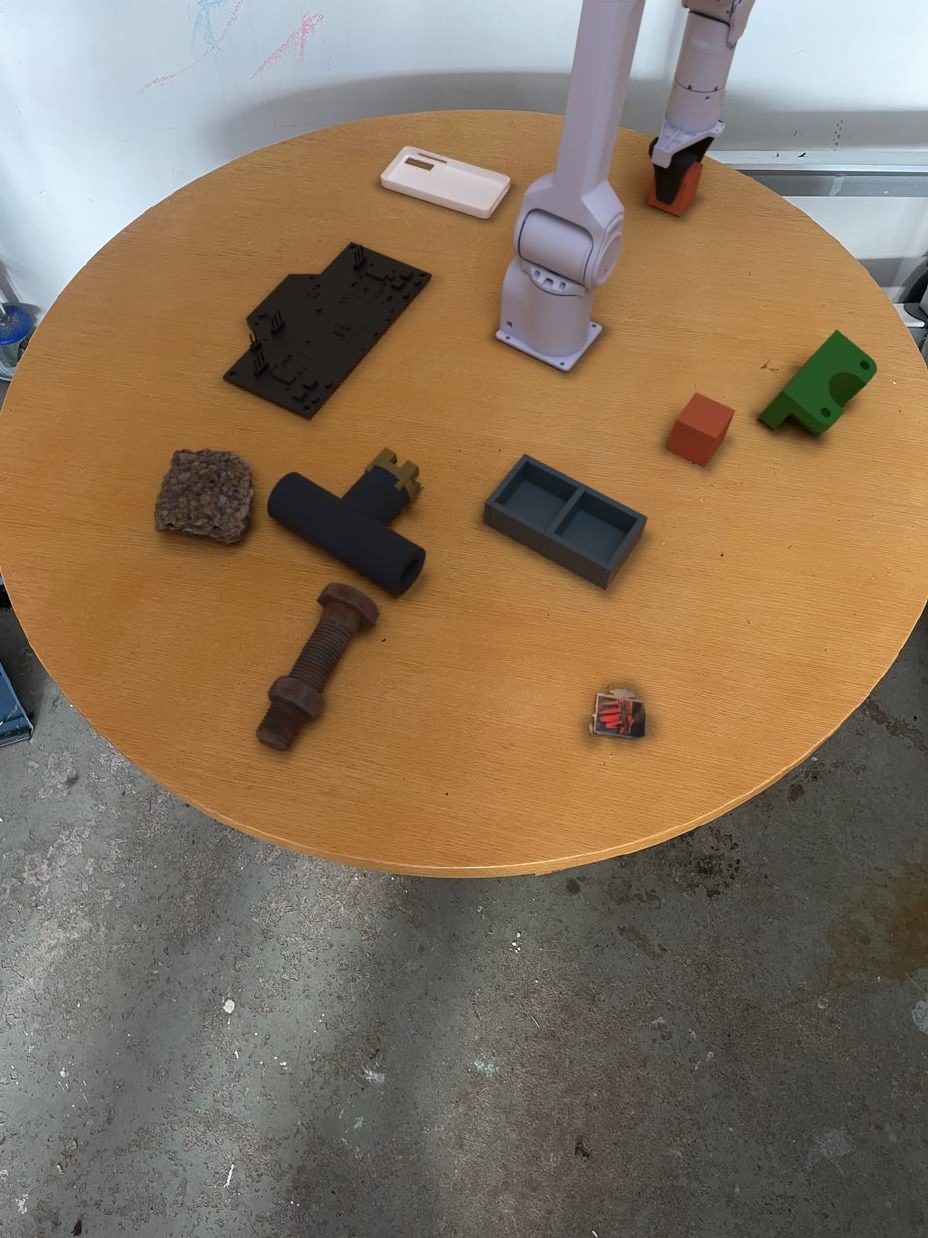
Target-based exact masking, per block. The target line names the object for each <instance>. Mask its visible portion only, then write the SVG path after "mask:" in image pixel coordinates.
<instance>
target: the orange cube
mask: <svg viewBox="0 0 928 1238" xmlns="http://www.w3.org/2000/svg"><path fill="white" fill-rule="evenodd" d="M703 169H704V163H702V162H701V163H699V162H696V161H695V162H694V163H693V164H692V165H691V167H690V168H689V170H688V172H687V173H686V175H685V177H684V179H683V182H682V184H681V187H680V189H679V192H678V194H677V196H676V198H675V200H674V202H673V203H672V204H671V205H668V204H665V203H663V202H661V201H658V200H656V188H655V173H654V172H653V176H652V181H651V186H650V192H649V195H648V200H647V204H648V205H650V206H653V207H655V208H658V209H660V210H662V211H664V212H667V213H670V214H672V215H675V216H677V217H680V216H681V214H682V213H683V212H684V211H685V210H686V209H687V207H688V206H689V205H690V204H691V203H692V201H693V200H695V198H696V194H697V192H698V186H699V183H700V179H701V176H702V173H703V172H702V171H703Z"/></svg>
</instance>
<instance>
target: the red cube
mask: <svg viewBox="0 0 928 1238" xmlns="http://www.w3.org/2000/svg"><path fill="white" fill-rule="evenodd" d="M735 412H736V410H735V409H733V408H731V407H729V406H727V405H725V404H723V403H721V402H718V401H717V400H714V399H712V398H710V397H708V396H706V395H703V394H701V393H699V392H697V391H695V392H694V394H693V395H692V396H691V398H690V399H689V401H688V402H687V404H686V405H685V406H684V407H683V409H682V411H681V412H680V414H679V415H678V416H677V418H676V419H675V422H674V425H673V428H672V431H671V434H670V437H669V440H668V444H667V447H666V450H668V451H671V452H672V453H675V454H677V455H678V456H680V457H683V458H685V459H686V460H689V461H691V462H693V463H694V464H697V465H699V466H701V467H703V468H706V467H707V465H708V464H709V462H710V461H711V460H712V458H713V456H714V455H715V454H716V452H717V450H718V449H719V447H720V446H721V444H722V443H723V441H724V440H725V437H726V435H727V433H728V430H729V428H730V425H731V423H732V420H733V417H734V416H735Z"/></svg>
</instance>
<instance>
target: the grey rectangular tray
mask: <svg viewBox="0 0 928 1238" xmlns="http://www.w3.org/2000/svg"><path fill="white" fill-rule="evenodd" d="M483 508H484V510H483V524H484V525H486V526H487V527H490V528H492V529H494V530H496V531H498V532H499V533H501V534H503V535H505V536H506V537H508V538H509V539H512V540H514V541H516V542H517V543H519V544H521V545H523V546H525V547H527V548H528V549H530V550H531V551H534V552H535V553H537V554H539V555H541V556H543V557H545V558H546V559H548V560H550V561H551V562H554V563H556V565H557V564H558V565H559V566H561V567H563V568H565V569H566V570H568V571H570V572H572V573H574V574H576V575H577V576H579V577H581V578H582V579H584V580H586V581H588V582H589V583H592V584H594V585H595V586H597V587H599V588H600V589H603V590H604V591H605V590H607V589H608V587H609V586H610V584H611V582H612V581H613V580H614V578H615V577H616V575H617V574H618V572H619V571H620V570H621V568H622V566H623V565H624V563H625V562H626V561H627V559H628V558H629V556H630V555H631V553H632V552H633V550H634V549H635V547H636V546H637V544H638V543H639V541H640V540H641V538H642V536H643V534H644V531H645V528H646V525H647V521H648V519H649V517H648V516H647V515H645V514H643V513H640V512H639V511H637V510H635V509H633V508H631V507H629V506H627V505H625V504H623V503H622V502H619V501H617V500H615V499H613V498H612V497H610V496H608V495H606V494H604V493H602V492H600V491H598V490H596V489H594V488H593V487H590V486H589V485H587V484H585V483H583V482H581V481H579V480H577V479H575V478H573V477H572V476H569V475H568V474H565V473H563V472H561V471H559V470H558V469H555V468H554V467H552V466H550V465H548V464H546V463H544V462H542V461H540V460H538V459H536V458H535V457H533V456H531V455H529V454H527V453H523V454H522V455H521V457H520V458H519V459H518V461H517V462H516V463H515V464H514V465H513V467H512V468H511V469H510V470H509V472H508V473H506V476H505V477H504V478H502V480H501V481H500V483H499V484H498V485H497V487H496V488H495V489H494V490H493V492H492V493H491V494H490V495H489V497H488V498H487V499H486V500H485V501H484V507H483Z"/></svg>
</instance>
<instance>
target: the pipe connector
mask: <svg viewBox="0 0 928 1238" xmlns="http://www.w3.org/2000/svg"><path fill="white" fill-rule="evenodd" d="M397 463H398V456H397V453H396V452H395V451H393V450H391V449H389V448H388V447H386V446H384V448H383V449H382V450H381V451H380V452H379V453H378V454H377V455H376V456H375V457H374V458H373V459H372V461H370V462H369V464H368V465H366V467H365V468H364V473H363V474H362V475H361V476H360V477H359V478H358V479H357V480H356V481H355V483H354V484H352V486H350V488H349V489H348V490H347V491H346V492H345V493H344V494H343V495H342V496H341V497H339V496H337V495H336V494H334V493H332V492H331V491H329V490H327V489H326V488H324V487H323V486H320V485H319V484H318V483H316V482H314V481H312V480H311V479H310V478H307V477H305V476H304V475H302V474H301V473H299V472H298V471H291V472H289V473H286V474H285V475H283V476H282V477H281V478H279V480H278V481H277V482H276V483H275V485H274V486H273V488H272V490H271V492H270V493H269V495H268V499H267V504H266V511H267V514H268V516H269V517H270V518H272V519H273V520H274V521H276V522H278V523H279V524H281V525H283V526H284V527H286V528H287V529H289V530H291V531H292V532H294V533H295V534H297V535H298V536H300V537H302V538H304V539H305V540H306V541H308V542H310V543H311V544H313V545H315V546H316V547H318V548H319V549H321V550H322V551H324V552H325V553H327V554H328V555H330V556H331V557H333V558H335V559H336V560H338V561H340V562H341V563H343V564H344V565H346V566H347V567H349V568H351V569H352V570H354V571H356V572H357V573H359V574H361V575H362V576H364V577H365V578H367V579H369V580H370V581H371V582H373V583H375V584H376V585H378V586H380V587H381V588H383V589H384V590H386V591H388V592H389V593H390V594H392V595H394V596H397V597H398V596H401V595H403V594H404V593H406V592H407V591H408V590H409V588H411V587H412V586H413V584H414V583H415V582H416V580H417V579H418V577H419V576H420V573H421V571H422V570H423V567H424V564H425V562H426V557H427V556H426V555H427V553H426V549H424V548H423V547H421V546H420V545H418V544H416V543H415V542H414V541H412V540H410V539H408V538H406V537H405V536H403V535H402V534H400V533H398V532H396V531H395V530H393V529H392V528H390V527H388V526H389V525H390V524H391V523H392V522H393V520H394V519H395V518H396V517H397V516H398V515H399V514H402V513H403V512H404V511H406V509H407V507H409V505H411V503H412V502H413V501H414V500H415V499H416V498H417V497H418V495H419V494H420V493H421V492H422V490H421V489H422V487H421V483H420V482H419V481H417V480H416V479H417V478H418V477H419V476H420V466H419V465H417V464H416V463H414V462H412V461H411V460H409V459H407V460H406V461H405V462H404V463H403V464H402V465H401V466H400V467H399V466H397V465H396V464H397Z"/></svg>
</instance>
